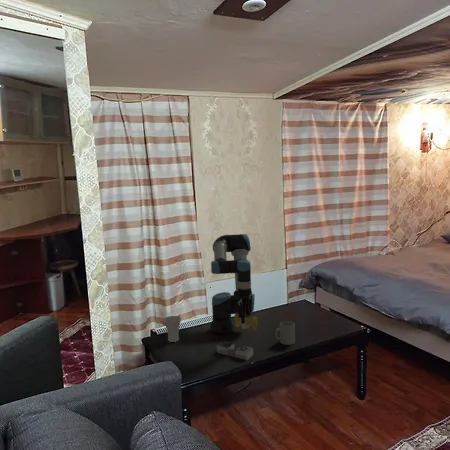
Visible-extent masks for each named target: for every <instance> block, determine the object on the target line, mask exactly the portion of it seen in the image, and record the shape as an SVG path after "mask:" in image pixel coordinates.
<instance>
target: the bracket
mask: <svg viewBox="0 0 450 450" xmlns="http://www.w3.org/2000/svg"><path fill="white" fill-rule="evenodd" d="M235 348H236V347H235V343H233V342H230V341H226V340H223V341H222V342H220V343H219V344H217V345H216V352H217V354H221V355H225V356H228V357H233V358H237V359H240V360H245V361H249V359H250V358H251V357H253V356H254V347H251V346H247V345H240V346H239V347H238V348H236V349H235Z"/></svg>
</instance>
